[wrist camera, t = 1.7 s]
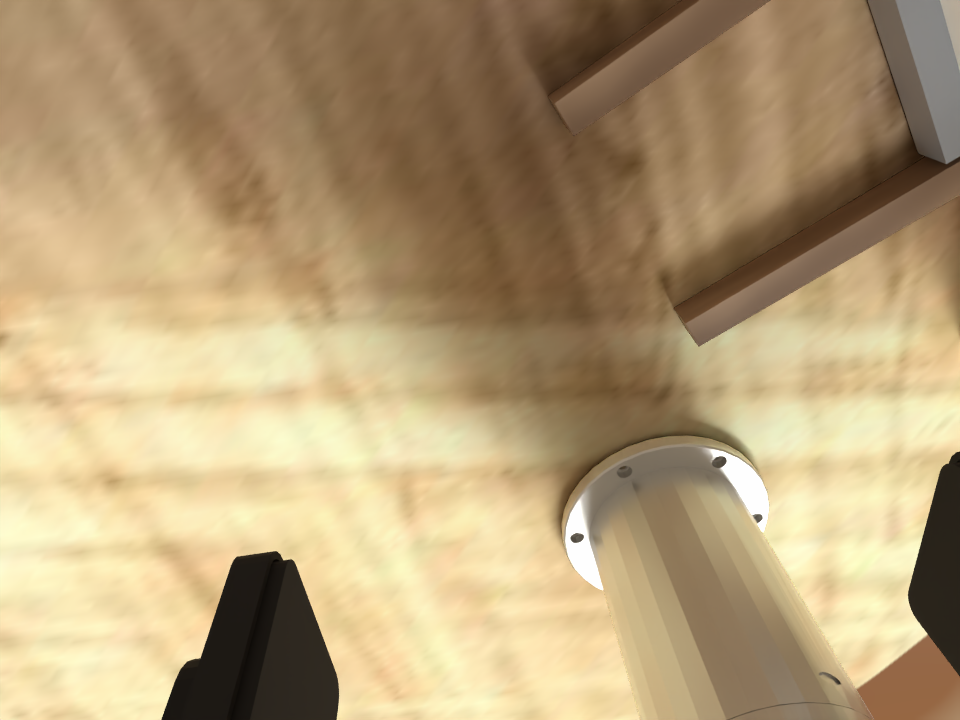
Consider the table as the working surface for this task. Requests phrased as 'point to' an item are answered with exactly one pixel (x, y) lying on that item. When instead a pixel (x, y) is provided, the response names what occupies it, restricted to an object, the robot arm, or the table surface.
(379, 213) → the table surface
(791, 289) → the track
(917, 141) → the grey board with block
